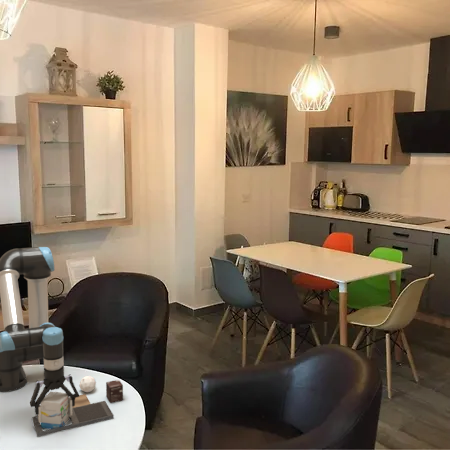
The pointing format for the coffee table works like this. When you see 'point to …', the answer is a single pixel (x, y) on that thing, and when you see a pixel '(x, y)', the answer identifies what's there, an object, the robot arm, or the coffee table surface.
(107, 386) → the box
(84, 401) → the pad
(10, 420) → the coffee table surface
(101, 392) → the coffee table surface
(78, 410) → the grey flat frame
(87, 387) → the ornament
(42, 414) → the ink box
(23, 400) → the coffee table surface
